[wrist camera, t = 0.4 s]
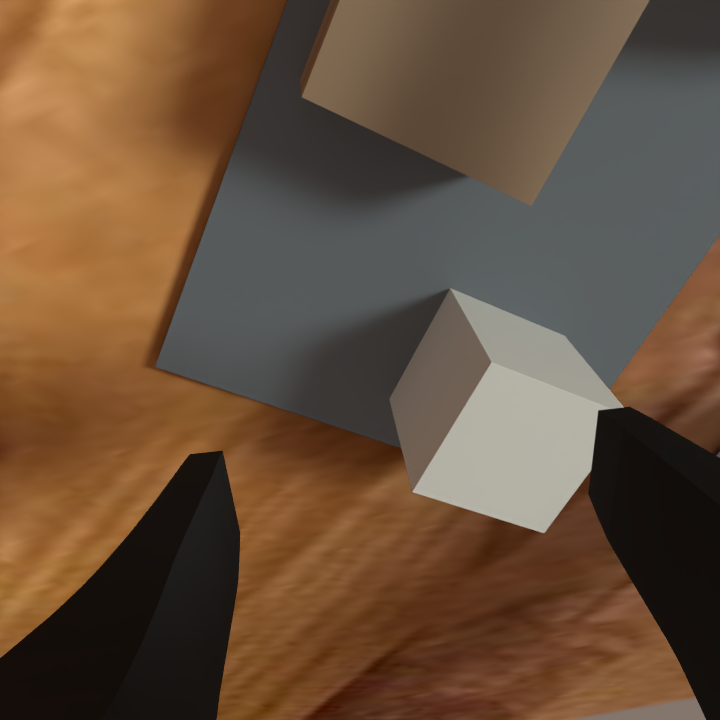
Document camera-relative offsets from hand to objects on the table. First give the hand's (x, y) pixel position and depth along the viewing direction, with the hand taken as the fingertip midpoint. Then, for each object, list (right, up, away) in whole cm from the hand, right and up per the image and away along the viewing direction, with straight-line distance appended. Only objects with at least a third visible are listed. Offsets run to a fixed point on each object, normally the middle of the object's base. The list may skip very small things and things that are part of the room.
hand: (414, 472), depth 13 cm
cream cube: (+3, +2, +10) cm, 11 cm away
